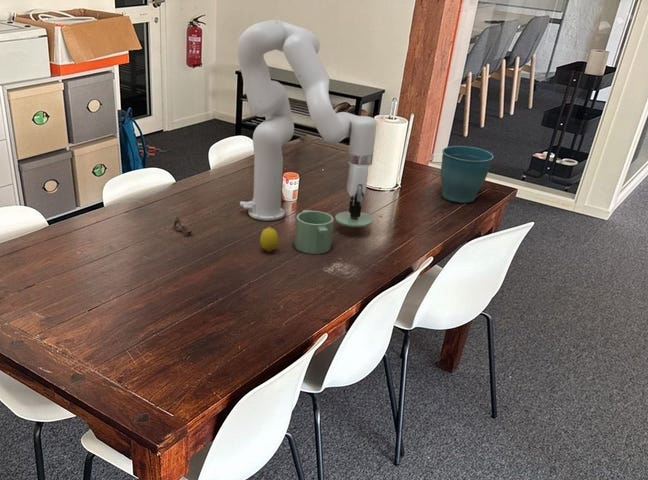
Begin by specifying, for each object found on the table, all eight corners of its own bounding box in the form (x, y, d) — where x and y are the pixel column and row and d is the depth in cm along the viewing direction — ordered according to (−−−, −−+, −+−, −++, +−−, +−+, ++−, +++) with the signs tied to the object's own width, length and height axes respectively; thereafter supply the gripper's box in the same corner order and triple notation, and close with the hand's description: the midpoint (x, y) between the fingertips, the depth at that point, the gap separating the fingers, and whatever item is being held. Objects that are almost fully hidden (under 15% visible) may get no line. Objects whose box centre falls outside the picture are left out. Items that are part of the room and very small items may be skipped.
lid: (343, 230, 217) (345, 211, 214) (329, 216, 227) (331, 198, 224) (379, 226, 220) (381, 208, 217) (363, 213, 230) (365, 195, 227)
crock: (304, 258, 206) (306, 229, 201) (287, 237, 220) (289, 209, 215) (339, 255, 209) (342, 226, 204) (320, 234, 223) (323, 206, 217)
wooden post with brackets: (174, 224, 223) (177, 213, 220) (188, 240, 221) (192, 230, 217) (169, 225, 222) (172, 215, 219) (184, 241, 220) (187, 231, 216)
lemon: (258, 247, 212) (259, 223, 208) (276, 247, 213) (277, 223, 208) (260, 255, 207) (261, 230, 203) (278, 255, 208) (279, 230, 204)
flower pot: (489, 196, 259) (499, 151, 249) (475, 210, 246) (485, 163, 237) (443, 186, 267) (452, 143, 257) (427, 199, 254) (435, 154, 244)
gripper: (345, 150, 219) (340, 205, 229) (351, 166, 206) (345, 223, 216) (368, 151, 219) (362, 206, 229) (376, 166, 206) (369, 224, 216)
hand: (354, 214), depth 222 cm, fingers closed on lid, 2 cm apart
